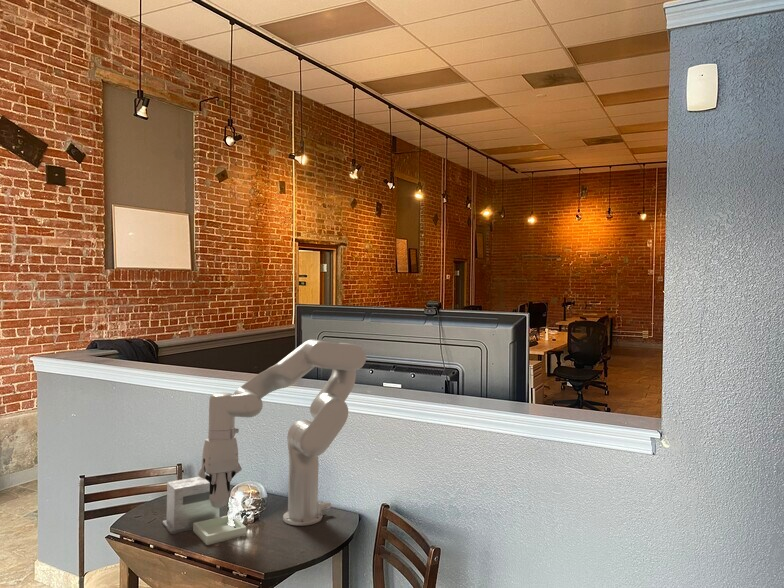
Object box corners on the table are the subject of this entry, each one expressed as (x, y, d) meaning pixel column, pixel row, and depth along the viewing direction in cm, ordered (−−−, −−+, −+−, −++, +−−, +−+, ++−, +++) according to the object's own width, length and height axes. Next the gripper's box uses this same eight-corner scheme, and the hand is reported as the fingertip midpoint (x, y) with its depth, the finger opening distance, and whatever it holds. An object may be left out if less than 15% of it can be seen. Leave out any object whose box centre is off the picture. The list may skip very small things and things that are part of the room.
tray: (231, 522, 178) (231, 514, 178) (246, 535, 169) (246, 526, 169) (193, 531, 171) (193, 522, 171) (206, 545, 162) (206, 536, 162)
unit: (212, 512, 186) (213, 473, 186) (223, 522, 178) (224, 481, 178) (162, 523, 177) (163, 481, 177) (171, 534, 169) (172, 490, 169)
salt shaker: (232, 505, 170) (234, 462, 170) (215, 510, 166) (217, 466, 166) (222, 500, 174) (223, 458, 174) (205, 505, 170) (206, 462, 170)
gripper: (242, 428, 178) (240, 487, 178) (190, 435, 168) (188, 496, 168) (251, 433, 172) (250, 493, 172) (198, 440, 162) (196, 504, 162)
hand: (219, 494), depth 170 cm, fingers closed on salt shaker, 3 cm apart
